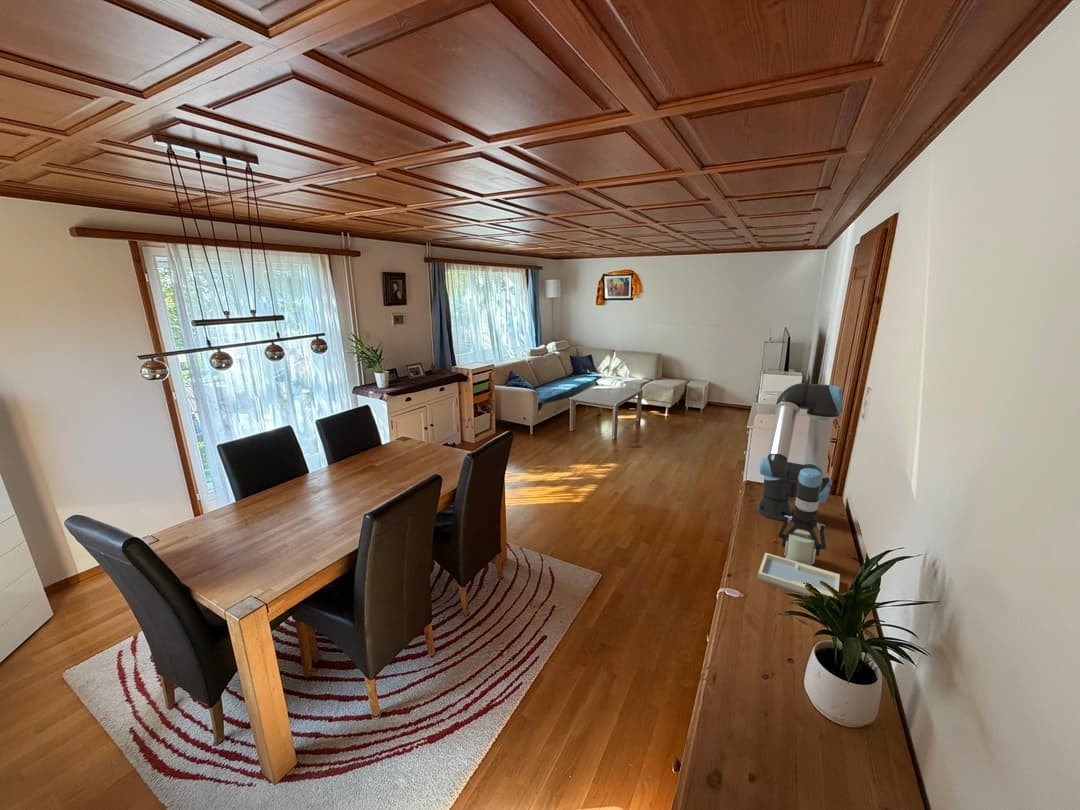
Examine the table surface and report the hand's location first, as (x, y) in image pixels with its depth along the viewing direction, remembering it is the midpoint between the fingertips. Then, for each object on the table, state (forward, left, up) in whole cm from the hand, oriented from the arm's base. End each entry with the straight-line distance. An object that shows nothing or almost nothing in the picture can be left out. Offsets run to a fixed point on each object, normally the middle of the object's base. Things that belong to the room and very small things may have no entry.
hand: (799, 557), depth 169 cm
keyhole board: (+13, +1, -1) cm, 14 cm away
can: (0, 0, -2) cm, 2 cm away
